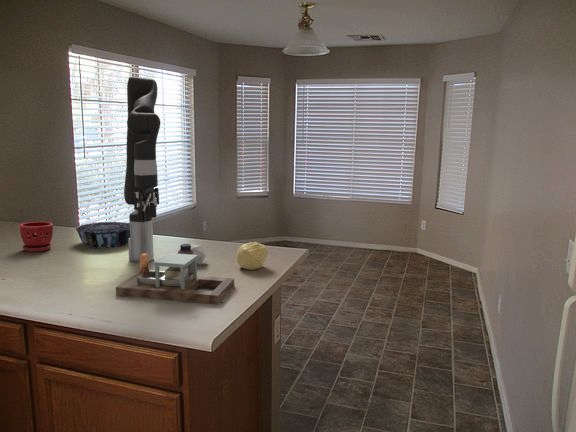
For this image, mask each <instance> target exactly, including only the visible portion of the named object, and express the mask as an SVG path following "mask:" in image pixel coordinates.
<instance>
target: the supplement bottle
mask: <svg viewBox="0 0 576 432" xmlns="http://www.w3.org/2000/svg"><path fill="white" fill-rule="evenodd" d="M191 245H192V244H191V243H182V244H180V247H179V248H180V249H179V250H178V251H177V254H190V255H193V250H191Z"/></svg>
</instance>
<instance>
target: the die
mask: <svg viewBox="0 0 576 432" xmlns="http://www.w3.org/2000/svg"><path fill="white" fill-rule="evenodd" d="M190 245H191V250H193V255H198V259H197V265H198V266H199V265H200V266H201V265H202V264H203V263H204V260H205V258H206V257H207V253H206V251H205V249H204V247H203V244H190Z"/></svg>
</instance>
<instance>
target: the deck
mask: <svg viewBox="0 0 576 432" xmlns="http://www.w3.org/2000/svg"><path fill="white" fill-rule="evenodd" d="M140 275H141V274H140V271H139V272H138V273H136V274H135V275H133V276H131V277H130V278H128V279H127V280H125V281H123V282H121V283H120V284H118V285H116V286H115V296H118V297H131V298H142V299H151V300H152V299H153V300H163V301H175V302H185V303H199V304H209V305H219V304H220V303H222V301H223V300H224V299H225V297H227V296H228V294H229V293H230V292H231V290H233V289H234V288H235V278H231V277H218V276H207V275H205V276H204V275H197V279H193V280H192V281H191V282H190V283H189V284H187V285H186V286H185V289H181V287H178V286H166V285H160V287H156V285H154V284H142V283H137V277H139V276H140ZM149 278H155V277H153V276H150V277H149ZM160 278H161V277H160Z"/></svg>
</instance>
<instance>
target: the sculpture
mask: <svg viewBox="0 0 576 432" xmlns="http://www.w3.org/2000/svg"><path fill="white" fill-rule="evenodd" d="M268 252H269V249H268V248H267V246H266V245H265V244H262V243H260V242H257V241H254V242H253V241H251V242H246V243H244V244H242V245H240V246H239V248H238V249H237V252H236V262H237V264H238V266H239V267H241V268H243V269H245V270H249V271H254V270H255V271H256V270H258V269H260V268H261V267H262V266H263V265H264V263H265V261H266V259H267V258H268Z"/></svg>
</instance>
